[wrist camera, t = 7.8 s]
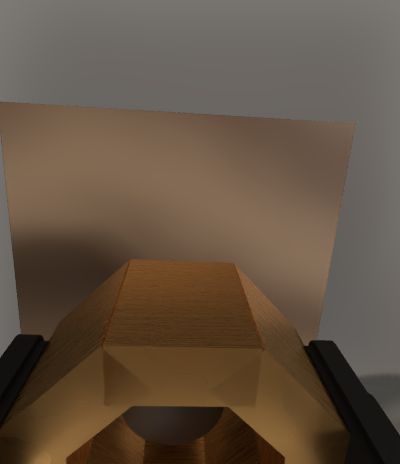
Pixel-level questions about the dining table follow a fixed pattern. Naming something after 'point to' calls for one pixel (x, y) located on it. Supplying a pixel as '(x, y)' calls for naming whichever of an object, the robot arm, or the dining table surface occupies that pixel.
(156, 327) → the octagonal wooden ring
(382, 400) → the dining table surface
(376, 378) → the dining table surface
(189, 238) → the keeper board
